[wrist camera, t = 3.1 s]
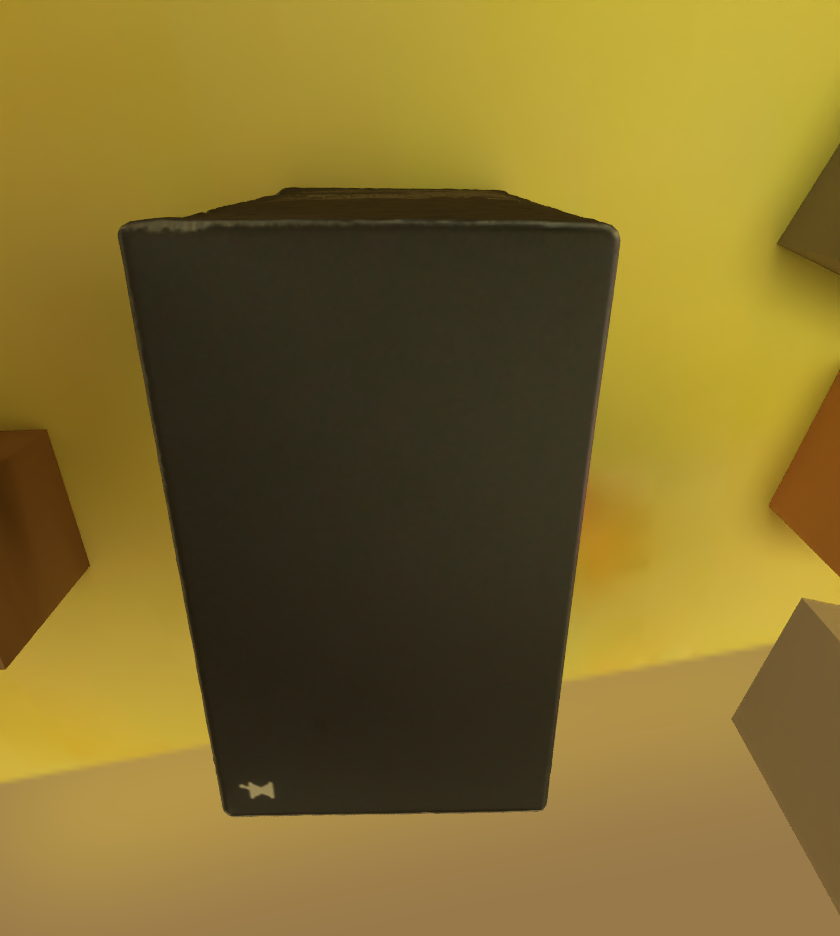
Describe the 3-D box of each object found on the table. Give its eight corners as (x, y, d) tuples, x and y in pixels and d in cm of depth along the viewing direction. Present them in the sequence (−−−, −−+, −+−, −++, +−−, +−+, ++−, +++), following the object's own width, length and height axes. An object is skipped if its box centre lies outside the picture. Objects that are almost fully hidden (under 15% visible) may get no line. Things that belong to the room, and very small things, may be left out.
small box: (499, 533, 21) (561, 832, 12) (303, 532, 21) (209, 830, 12) (523, 184, 17) (655, 221, 7) (272, 184, 17) (78, 218, 7)
